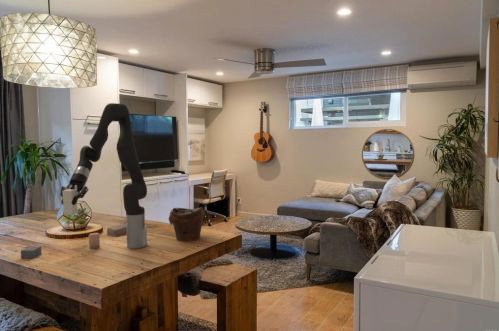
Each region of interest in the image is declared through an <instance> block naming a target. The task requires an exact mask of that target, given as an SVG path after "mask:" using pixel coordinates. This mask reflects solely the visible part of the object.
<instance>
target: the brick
mask: <svg viewBox="0 0 499 331" xmlns="http://www.w3.org/2000/svg"><path fill="white" fill-rule="evenodd" d="M106 235H108V236H111V237H118V236H122V235H127V228H126V222H125V223H122V224H118V225H112V226H110V227H109V226H108V227H107V229H106Z"/></svg>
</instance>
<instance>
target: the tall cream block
mask: <svg viewBox="0 0 499 331" xmlns="http://www.w3.org/2000/svg"><path fill="white" fill-rule="evenodd" d="M62 192H63V198H62V199H63V204H62V205H63V207H62V208H63V215H64V216H73V215H75V214H78V202H77V203H76V204H75V205H73V204H72V203H71V202H72V200H73V198H74V197H75V192H76V189H67V190H63V191H62Z"/></svg>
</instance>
